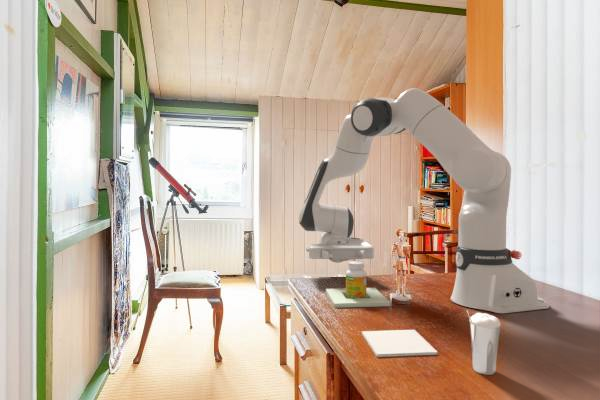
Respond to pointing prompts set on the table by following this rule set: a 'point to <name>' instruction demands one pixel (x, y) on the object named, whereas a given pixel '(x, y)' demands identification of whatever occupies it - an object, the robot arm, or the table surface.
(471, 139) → the robot arm
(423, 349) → the mat
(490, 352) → the milkshake
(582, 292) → the table surface
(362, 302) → the well board
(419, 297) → the table surface
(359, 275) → the supplement bottle
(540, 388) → the table surface
